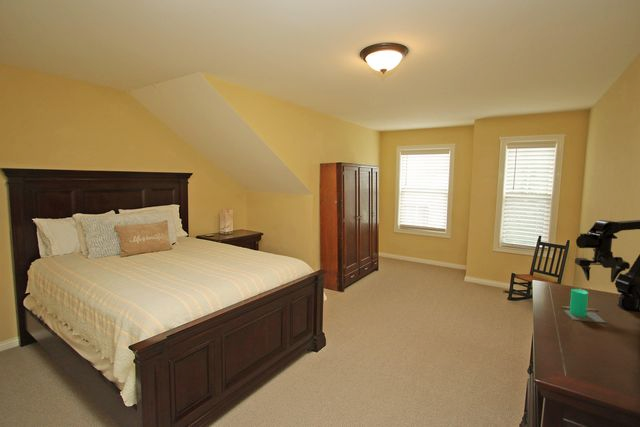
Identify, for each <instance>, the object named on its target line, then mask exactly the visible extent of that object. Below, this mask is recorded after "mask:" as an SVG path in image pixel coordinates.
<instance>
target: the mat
mask: <svg viewBox="0 0 640 427" xmlns="http://www.w3.org/2000/svg"><path fill="white" fill-rule="evenodd" d="M562 311H563V312H564V313H565V314H566V315H567V316H568V317H569V318H570V319H571V320H572V321H579V322H581V321H582V322H589V323H601V324H607V321H605V319H603V318H602V317H600V316H599V315H598V314H597V313H595V312H590V311H587V315H586V316H584V317H582V316H576V315H573V314H571V313H570V309H568V310H566V309H563V310H562Z"/></svg>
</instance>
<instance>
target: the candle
mask: <svg viewBox="0 0 640 427" xmlns="http://www.w3.org/2000/svg"><path fill="white" fill-rule="evenodd" d="M588 302H589V292H588V291H587V290H584V289H581V288H578V289H577V288H576V289H574V288H572V289H571V290H570V302H569V307H570V309H569V311H570V313H571V314H573V315H576V316H582V317H584V316H586V315H587V312H588V310H587V308H588V304H589V303H588Z"/></svg>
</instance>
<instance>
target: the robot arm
mask: <svg viewBox="0 0 640 427" xmlns="http://www.w3.org/2000/svg"><path fill="white" fill-rule="evenodd" d="M635 230H640V219H636V220H635V219H634V220H622V221H621V220H619V221H614V220H613V221H612V220H605V219H598V220H596V222H595V223H594V224H593V225H592V227H591V228H590V229H589V230H588V231H587V232H586V233H584V232H580V234H579V236H578V237H577V238H576V239H575V242H576V246H577V247H578V248H579V249H592V251H593V252H594V253H593V256H592V259H588V258H586V257H576V258H575V259H574V264H576V265H578V266H579V267H580V268H581V269H582V271H583V273H584V276H585V278H586V281H588V282H589V281H590V278H591V277H590V276H591V275H590V274H591V273H590V272H591V271H590V270H591V268H592V267H591V265H595V266H601V267H603V268H604V269H608V268H609V269H610V283H614V286H615V287H616V291H617V293H619V294H620V296H619V297H618V303H617V306H619V307H620V308H621V309H623V310H624V311H631V312H640V253H639V254H638V256H637V258H636V259H635V260H634V261H633V264H632V266H631V264H630V263H629V262H628V261H626V260H624V259H623V257H621V256H614V254H613V251H612V246H613V240H615V239H618V236H616V235H615V234H618V233H620V232H621V231H622V232H623V231H635ZM626 270H628V271H627V272H626V273H622V272H623V271H626Z"/></svg>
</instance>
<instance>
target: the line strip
mask: <svg viewBox="0 0 640 427" xmlns="http://www.w3.org/2000/svg"><path fill="white" fill-rule="evenodd" d="M561 308H562V309H568V310H570V306H569V305H568V306H566V305H561ZM587 311H589V312H590V311H593V312H599V310H598V308H590V307H589V308H588V307H587Z"/></svg>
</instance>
